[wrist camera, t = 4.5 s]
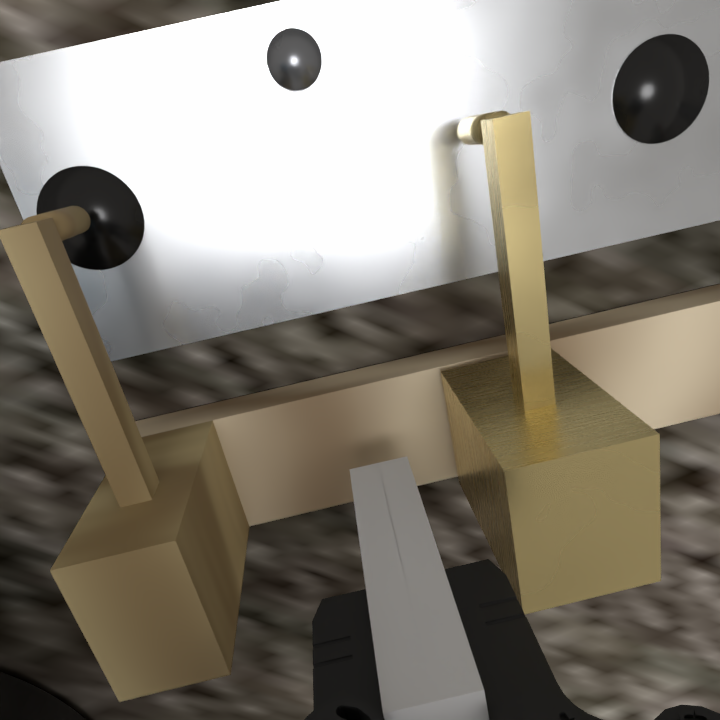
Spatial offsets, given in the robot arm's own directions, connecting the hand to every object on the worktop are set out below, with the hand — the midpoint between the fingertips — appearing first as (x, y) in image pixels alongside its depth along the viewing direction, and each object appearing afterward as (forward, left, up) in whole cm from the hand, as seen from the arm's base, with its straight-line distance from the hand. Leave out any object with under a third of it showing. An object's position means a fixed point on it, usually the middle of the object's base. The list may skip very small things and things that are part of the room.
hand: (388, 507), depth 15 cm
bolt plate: (+4, +8, -3) cm, 10 cm away
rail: (+4, +4, -3) cm, 7 cm away
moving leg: (+4, +4, -2) cm, 6 cm away
